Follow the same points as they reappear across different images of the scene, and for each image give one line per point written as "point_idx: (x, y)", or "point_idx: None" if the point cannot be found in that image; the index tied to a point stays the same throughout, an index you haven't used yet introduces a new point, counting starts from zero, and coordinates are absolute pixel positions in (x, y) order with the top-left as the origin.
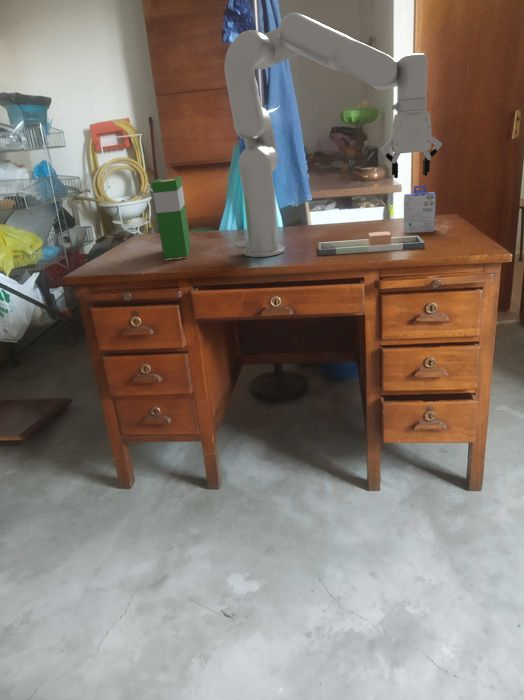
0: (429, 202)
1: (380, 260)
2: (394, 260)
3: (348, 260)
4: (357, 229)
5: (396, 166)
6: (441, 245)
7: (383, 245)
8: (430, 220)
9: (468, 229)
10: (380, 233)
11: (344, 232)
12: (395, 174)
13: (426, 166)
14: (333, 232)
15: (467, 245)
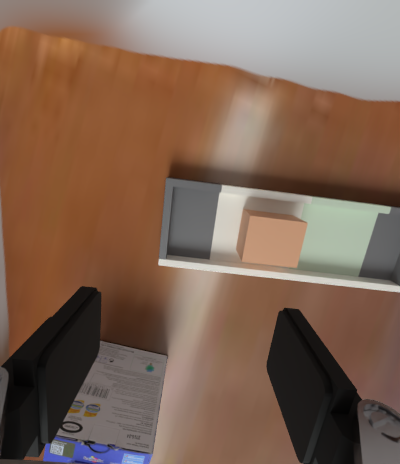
0: (80, 410)
1: (300, 105)
2: (269, 90)
3: (369, 139)
4: (249, 436)
5: (330, 362)
6: (118, 203)
7: (271, 191)
8: (97, 364)
9: (17, 338)
10: (271, 244)
11: None
12: (306, 321)
13: (59, 321)
14: None
15: (59, 176)
